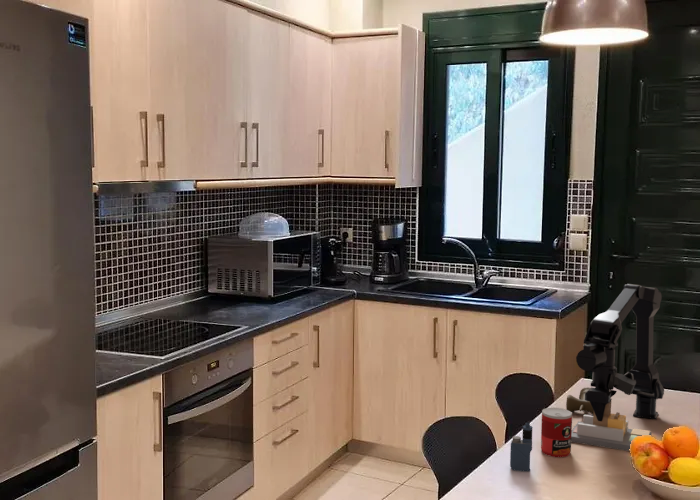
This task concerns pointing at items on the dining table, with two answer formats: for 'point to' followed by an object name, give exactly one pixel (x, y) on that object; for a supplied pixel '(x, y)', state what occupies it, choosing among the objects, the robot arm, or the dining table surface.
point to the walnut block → (605, 417)
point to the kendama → (579, 402)
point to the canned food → (556, 432)
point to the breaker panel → (604, 434)
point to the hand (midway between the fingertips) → (601, 418)
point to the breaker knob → (617, 421)
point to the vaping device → (521, 450)
